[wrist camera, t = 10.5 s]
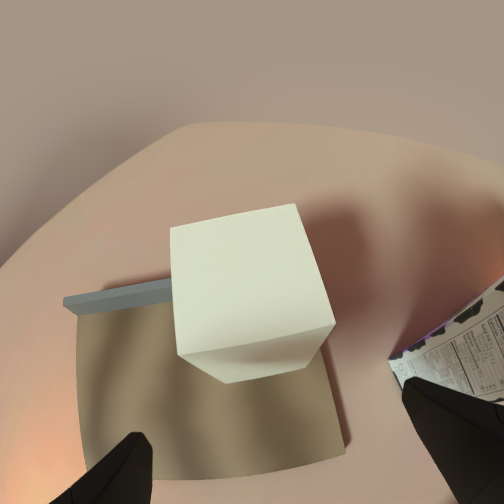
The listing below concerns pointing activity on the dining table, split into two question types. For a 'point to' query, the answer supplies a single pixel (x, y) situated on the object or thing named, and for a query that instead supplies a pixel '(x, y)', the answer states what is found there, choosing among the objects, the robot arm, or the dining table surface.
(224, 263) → the carton
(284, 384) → the shelf board
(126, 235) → the dining table surface
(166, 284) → the rail
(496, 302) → the candy box
